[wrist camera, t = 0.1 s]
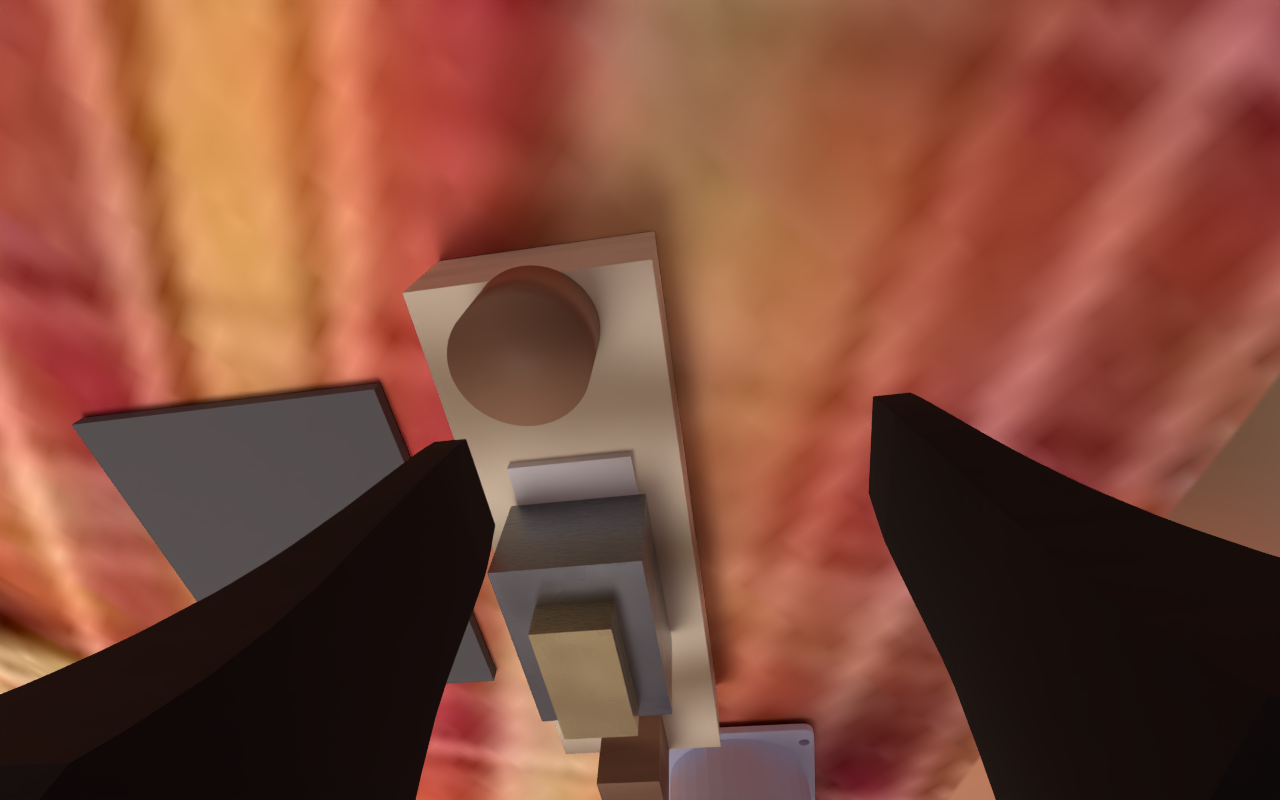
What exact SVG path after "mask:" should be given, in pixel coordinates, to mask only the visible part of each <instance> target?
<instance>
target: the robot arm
mask: <svg viewBox="0 0 1280 800" xmlns="http://www.w3.org/2000/svg"><path fill="white" fill-rule="evenodd" d="M869 495H870V498H871V501H872V505H873V508H874V511H875V514H876V517H877V520H878V523H879V526H880V529H881V532H882V535H883V538H884V540H885V543H886V545H887V547H888V549H889V552H890V554H891V556H892V558H893V560H894V562H895V564H896V566H897V568H898V570H899V572H900V574H901V576H902V578H903V580H904V582H905V585H906V587H907V589H908V591H909V593H910V595H911V597H912V599H913V601H914V603H915V605H916V607H917V609H918V611H919V613H920V615H921V617H922V619H923V621H924V623H925V625H926V627H927V629H928V631H929V633H930V635H931V637H932V639H933V641H934V643H935V645H936V647H937V649H938V651H939V653H940V655H941V657H942V659H943V661H944V664H945V666H946V668H947V670H948V673H949V675H950V677H951V680H952V682H953V684H954V686H955V689H956V692H957V694H958V697H959V700H960V702H961V705H962V708H963V710H964V713H965V716H966V718H967V721H968V724H969V726H970V729H971V732H972V734H973V737H974V740H975V742H976V745H977V748H978V751H979V753H980V756H981V759H982V762H983V764H984V767H985V770H986V773H987V776H988V779H989V782H990V784H991V787H992V790H993V793H994V796H995V799H996V800H1280V557H1276V556H1273V555H1269V554H1266V553H1263V552H1260V551H1257V550H1254V549H1251V548H1248V547H1245V546H1242V545H1239V544H1236V543H1234V542H1230V541H1227V540H1225V539H1222V538H1219V537H1216V536H1212V535H1210V534H1207V533H1204V532H1201V531H1198V530H1195V529H1192V528H1190V527H1187V526H1184V525H1181V524H1178V523H1176V522H1173V521H1171V520H1168V519H1165V518H1162V517H1160V516H1157V515H1155V514H1152V513H1150V512H1147V511H1145V510H1142V509H1140V508H1138V507H1135V506H1133V505H1130V504H1128V503H1125V502H1123V501H1120V500H1118V499H1116V498H1113V497H1111V496H1108V495H1106V494H1103V493H1101V492H1099V491H1097V490H1094V489H1092V488H1090V487H1088V486H1085V485H1083V484H1081V483H1079V482H1077V481H1075V480H1073V479H1071V478H1069V477H1066V476H1064V475H1062V474H1060V473H1058V472H1056V471H1054V470H1052V469H1050V468H1048V467H1046V466H1044V465H1042V464H1040V463H1038V462H1036V461H1034V460H1032V459H1030V458H1028V457H1026V456H1024V455H1022V454H1020V453H1019V452H1017V451H1015V450H1013V449H1011V448H1009V447H1007V446H1005V445H1004V444H1002V443H1000V442H998V441H996V440H995V439H993V438H991V437H989V436H987V435H986V434H984V433H982V432H980V431H979V430H977V429H975V428H973V427H972V426H970V425H968V424H966V423H965V422H963V421H961V420H959V419H958V418H956V417H954V416H952V415H951V414H949V413H947V412H946V411H944V410H942V409H940V408H939V407H937V406H935V405H933V404H932V403H930V402H928V401H926V400H924V399H922V398H920V397H919V396H916V395H914V394H912V393H903V394H893V395H883V396H874V397H873V409H872V432H871V454H870V476H869ZM494 530H495V522H494V520H493V517H492V514H491V511H490V508H489V505H488V502H487V499H486V496H485V493H484V490H483V487H482V484H481V481H480V478H479V475H478V472H477V469H476V466H475V463H474V460H473V457H472V455H471V452H470V449H469V446H468V443H467V440H466V439H459V440H450V441H440V442H434V443H432V444H431V445H429V446H427V447H426V448H424V449H423V450H421V451H420V452H418V453H417V454H415V455H414V456H412V457H411V458H410V459H408V460H407V461H406V462H404V463H403V464H402V465H400V466H399V467H398V468H396V469H395V470H394V471H392V472H391V473H390V474H388V475H387V476H386V477H384V478H383V479H382V480H381V481H379V482H378V483H377V484H375V485H374V486H373V487H371V488H370V489H369V490H367V491H366V492H365V493H363V494H362V495H361V496H359V497H358V498H357V499H356V500H354V501H353V502H352V503H350V504H349V505H348V506H346V507H345V508H344V509H342V510H341V511H339V512H338V513H337V514H335V515H334V516H332V517H331V518H329V519H328V520H327V521H325V522H324V523H322V524H321V525H320V526H318V527H317V528H315V529H314V530H313V531H311V532H310V533H308V534H307V535H305V536H304V537H303V538H301V539H300V540H298V541H297V542H296V543H294V544H293V545H291V546H290V547H288V548H287V549H285V550H284V551H282V552H281V553H279V554H278V555H276V556H274V557H273V558H271V559H270V560H268V561H267V562H265V563H264V564H262V565H260V566H259V567H257V568H255V569H254V570H252V571H250V572H249V573H247V574H245V575H244V576H242V577H240V578H239V579H237V580H235V581H234V582H232V583H230V584H229V585H227V586H225V587H224V588H222V589H220V590H218V591H217V592H215V593H213V594H211V595H209V596H207V597H206V598H204V599H202V600H200V601H198V602H196V603H194V604H192V605H190V606H189V607H187V608H185V609H183V610H181V611H179V612H177V613H175V614H174V615H172V616H170V617H168V618H166V619H164V620H162V621H160V622H158V623H157V624H155V625H153V626H151V627H149V628H147V629H145V630H143V631H141V632H139V633H137V634H135V635H133V636H131V637H129V638H127V639H125V640H123V641H120V642H118V643H116V644H114V645H112V646H110V647H108V648H106V649H104V650H102V651H100V652H97V653H95V654H93V655H91V656H89V657H86V658H84V659H82V660H80V661H77V662H75V663H73V664H71V665H69V666H66V667H64V668H62V669H60V670H57V671H55V672H53V673H51V674H48V675H46V676H44V677H41V678H39V679H37V680H34V681H32V682H30V683H27V684H25V685H23V686H20V687H18V688H15V689H13V690H10V691H8V692H5V693H3V694H0V800H416V795H417V791H418V786H419V782H420V778H421V773H422V769H423V765H424V761H425V757H426V753H427V749H428V745H429V741H430V737H431V733H432V729H433V725H434V721H435V717H436V714H437V710H438V707H439V704H440V701H441V698H442V695H443V691H444V688H445V685H446V683H447V680H448V677H449V674H450V672H451V669H452V666H453V663H454V661H455V658H456V655H457V652H458V650H459V647H460V644H461V642H462V639H463V636H464V633H465V631H466V628H467V625H468V622H469V620H470V617H471V614H472V611H473V609H474V606H475V603H476V600H477V597H478V594H479V592H480V589H481V586H482V583H483V580H484V577H485V574H486V570H487V565H488V561H489V556H490V552H491V546H492V541H493V536H494ZM719 728H720V741H721V747H704V748H682V749H669V800H815V756H814V732H813V728H812V727H811V726H810V725H808V724H804V723H800V724H780V725H760V726H739V727H719Z"/></svg>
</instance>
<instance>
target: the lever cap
mask: <svg viewBox="0 0 1280 800" xmlns="http://www.w3.org/2000/svg"><path fill="white" fill-rule="evenodd" d="M488 576H489V579H490V581H491V584H492V587H493V590H494V592H495V595H496V598H497V600H498V603H499V606H500V608H501V611H502V614H503V617H504V619H505V622H506V625H507V627H508V630H509V633H510V636H511V638H512V641H513V644H514V646H515V649H516V652H517V654H518V657H519V660H520V663H521V665H522V668H523V671H524V673H525V676H526V679H527V681H528V684H529V687H530V690H531V692H532V695H533V698H534V700H535V703H536V706H537V708H538V711H539V714H540V717H541V719H542V721H555V720H558V722H559V725H560V728H561V731H562V734H563V736H564V739H565V740H566V739H586V738H607V737H627V736H638V723H639V716H650V715H669V714H672V637H671V632H670V626H669V621H668V615H667V610H666V604H665V599H664V593H663V588H662V582H661V576H660V571H659V565H658V560H657V554H656V549H655V543H654V538H653V532H652V527H651V521H650V516H649V510H648V505H647V499H646V494H638V495H627V496H616V497H605V498H594V499H583V500H573V501H562V502H551V503H540V504H529V505H518V506H511V508H510V511H509V513H508V516H507V519H506V522H505V525H504V528H503V531H502V533H501V536H500V539H499V542H498V545H497V548H496V550H495V553H494V556H493V559H492V562H491V565H490V568H489V570H488Z"/></svg>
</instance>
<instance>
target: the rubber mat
mask: <svg viewBox="0 0 1280 800" xmlns="http://www.w3.org/2000/svg"><path fill="white" fill-rule="evenodd" d="M72 426H73V428H74V429H75V430H76V432H77V433H78V435H79V436H80V437H81V439H82V440H83V442H84V443H85V444H86V446H87V447H88V449H89V450H90V451H91V453H92V454H93V456H94V457H95V459H96V460H97V461H98V463H99V464H100V466H101V467H102V468H103V470H104V471H105V473H106V474H107V475H108V477H109V478H110V480H111V481H112V482H113V484H114V485H115V487H116V488H117V490H118V491H119V492H120V494H121V495H122V497H123V498H124V499H125V501H126V502H127V504H128V505H129V506H130V508H131V509H132V511H133V512H134V513H135V515H136V516H137V518H138V519H139V520H140V522H141V523H142V525H143V526H144V528H145V529H146V530H147V532H148V533H149V535H150V536H151V537H152V539H153V540H154V542H155V543H156V544H157V546H158V547H159V549H160V550H161V551H162V553H163V554H164V556H165V557H166V559H167V560H168V561H169V563H170V564H171V566H172V567H173V568H174V570H175V571H176V573H177V574H178V575H179V577H180V578H181V580H182V581H183V582H184V584H185V585H186V587H187V588H188V589H189V591H190V592H191V594H192V595H193V597H194V598H195V599H196V601H197V602H198V601H200V600H202V599H204V598H206V597H207V596H209V595H211V594H213V593H215V592H217V591H218V590H220V589H222V588H224V587H225V586H227V585H229V584H230V583H232V582H234V581H235V580H237V579H239V578H240V577H242V576H244V575H245V574H247V573H249V572H250V571H252V570H254V569H255V568H257V567H259V566H260V565H262V564H264V563H265V562H267V561H268V560H270V559H271V558H273V557H274V556H276V555H278V554H279V553H281V552H282V551H284V550H285V549H287V548H288V547H290V546H291V545H293V544H294V543H296V542H297V541H298V540H300V539H301V538H303V537H304V536H305V535H307V534H308V533H310V532H311V531H313V530H314V529H315V528H317V527H318V526H320V525H321V524H322V523H324V522H325V521H327V520H328V519H329V518H331V517H332V516H334V515H335V514H337V513H338V512H339V511H341V510H342V509H344V508H345V507H346V506H348V505H349V504H350V503H352V502H353V501H354V500H356V499H357V498H358V497H359V496H361V495H362V494H363V493H365V492H366V491H367V490H369V489H370V488H371V487H373V486H374V485H375V484H377V483H378V482H379V481H381V480H382V479H383V478H384V477H386V476H387V475H388V474H390V473H391V472H392V471H394V470H395V469H396V468H398V467H399V466H400V465H402V464H403V463H404V462H406V461H407V460H408V459H410V456H409V454H408V451H407V449H406V446H405V444H404V441H403V439H402V437H401V434H400V432H399V429H398V427H397V424H396V422H395V419H394V417H393V414H392V412H391V409H390V407H389V404H388V402H387V399H386V397H385V394H384V392H383V389H382V387H381V385H380V383H374V384H365V385H357V386H348V387H340V388H331V389H323V390H314V391H306V392H298V393H289V394H281V395H272V396H264V397H255V398H247V399H238V400H230V401H221V402H213V403H204V404H196V405H187V406H179V407H171V408H162V409H154V410H145V411H137V412H128V413H120V414H111V415H103V416H94V417H86V418H82V419H80V420H79V421H77V422H75V423H74V424H72ZM495 675H496V669H495V667H494V664H493V662H492V659H491V657H490V654H489V652H488V650H487V647H486V645H485V642H484V640H483V637H482V635H481V632H480V630H479V627H478V625H477V622H476V620H475V617H474V615H473V612H472V614H471V617H470V620H469V622H468V625H467V628H466V631H465V633H464V636H463V639H462V642H461V644H460V647H459V650H458V652H457V655H456V658H455V661H454V663H453V666H452V669H451V672H450V674H449V677H448V680H447V683H463V682H480V681H494V678H495ZM447 683H446V684H447Z"/></svg>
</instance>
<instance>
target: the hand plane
mask: <svg viewBox="0 0 1280 800" xmlns="http://www.w3.org/2000/svg"><path fill="white" fill-rule="evenodd" d="M403 295H404V298H405V301H406V304H407V307H408V309H409V312H410V315H411V318H412V321H413V324H414V326H415V329H416V332H417V335H418V338H419V341H420V343H421V346H422V349H423V352H424V355H425V357H426V360H427V363H428V366H429V369H430V372H431V374H432V377H433V380H434V383H435V386H436V389H437V391H438V394H439V397H440V400H441V403H442V405H443V408H444V411H445V414H446V417H447V420H448V422H449V425H450V428H451V431H452V434H453V437H454V439H455V440H459V439H466V440H467V443H468V446H469V449H470V452H471V455H472V457H473V460H474V463H475V466H476V469H477V472H478V475H479V478H480V481H481V484H482V487H483V490H484V493H485V496H486V499H487V502H488V505H489V508H490V511H491V514H492V517H493V520H494V522H495V530H494V536H493V541H492V547H493V549H494V552H495V550H496V548H497V545H498V542H499V539H500V536H501V533H502V531H503V528H504V525H505V522H506V519H507V516H508V513H509V511H510V508H511V506H518V505H529V504H540V503H551V502H562V501H573V500H583V499H594V498H605V497H616V496H627V495H638V494H646V499H647V505H648V510H649V516H650V521H651V527H652V532H653V538H654V543H655V549H656V554H657V560H658V565H659V571H660V576H661V582H662V588H663V593H664V599H665V604H666V610H667V615H668V621H669V626H670V632H671V637H672V714H669V715H650V716H639V723H638V736H627V737H607V738H586V739H566V740H565V739H564V736H563V734H562V731H561V728H560V725H559V722H558V720H555V721H554V722H555V724H556V727H557V730H558V733H559V736H560V739H561V741H562V744H563V747H564V750H565V753H566V754H574V753H596V752H600V757H599V767H598V777H597V786H598V789H599V792H600V795H601V798H602V800H669V749H682V748H704V747H721V741H720V728H719V715H718V702H717V688H716V680H715V672H714V665H713V658H712V650H711V643H710V636H709V628H708V621H707V614H706V606H705V599H704V592H703V584H702V577H701V569H700V562H699V555H698V547H697V540H696V533H695V525H694V518H693V511H692V503H691V496H690V489H689V481H688V474H687V467H686V459H685V452H684V445H683V437H682V430H681V423H680V415H679V408H678V401H677V393H676V386H675V379H674V371H673V364H672V357H671V349H670V342H669V335H668V327H667V320H666V313H665V305H664V298H663V291H662V283H661V276H660V269H659V261H658V254H657V247H656V239H655V232H654V231H652V232H645V233H638V234H630V235H623V236H616V237H609V238H602V239H595V240H587V241H580V242H573V243H566V244H559V245H552V246H544V247H537V248H530V249H523V250H516V251H509V252H502V253H494V254H487V255H480V256H473V257H466V258H459V259H451V260H444V261H438V262H437V263H436V264H435V265H434V266H433V267H431V268H430V269H429V270H428V271H427V272H426V273H425V274H423V275H422V276H421V277H420V278H419V279H418V280H417V281H416V282H414V283H413V284H412V285H411V286H410V287H409V288H408V289H407V290H405V291H404V292H403Z"/></svg>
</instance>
